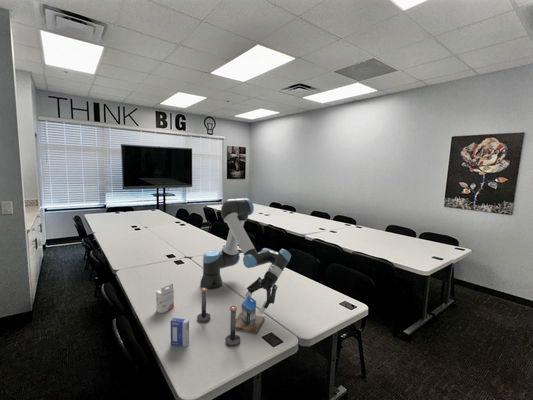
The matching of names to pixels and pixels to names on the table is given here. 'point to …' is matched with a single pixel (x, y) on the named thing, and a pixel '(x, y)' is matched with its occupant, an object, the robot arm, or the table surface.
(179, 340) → the walkman
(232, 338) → the cord stand near
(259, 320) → the walnut board
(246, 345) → the table surface
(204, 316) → the cord stand far
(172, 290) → the ink cartridge box
